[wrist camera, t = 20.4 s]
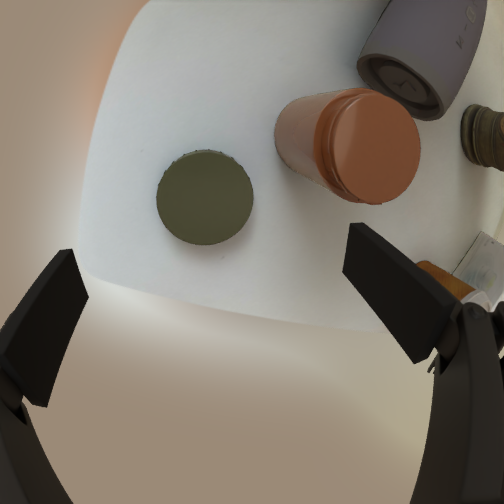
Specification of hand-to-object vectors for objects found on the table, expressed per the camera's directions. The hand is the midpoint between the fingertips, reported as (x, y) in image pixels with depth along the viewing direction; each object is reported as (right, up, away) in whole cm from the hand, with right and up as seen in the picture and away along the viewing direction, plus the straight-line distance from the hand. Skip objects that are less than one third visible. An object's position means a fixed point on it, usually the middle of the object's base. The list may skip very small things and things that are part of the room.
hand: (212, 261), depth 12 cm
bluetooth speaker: (+18, +25, +6) cm, 31 cm away
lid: (-2, +5, +10) cm, 11 cm away
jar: (+7, +11, +10) cm, 17 cm away
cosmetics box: (+39, -1, +23) cm, 45 cm away
